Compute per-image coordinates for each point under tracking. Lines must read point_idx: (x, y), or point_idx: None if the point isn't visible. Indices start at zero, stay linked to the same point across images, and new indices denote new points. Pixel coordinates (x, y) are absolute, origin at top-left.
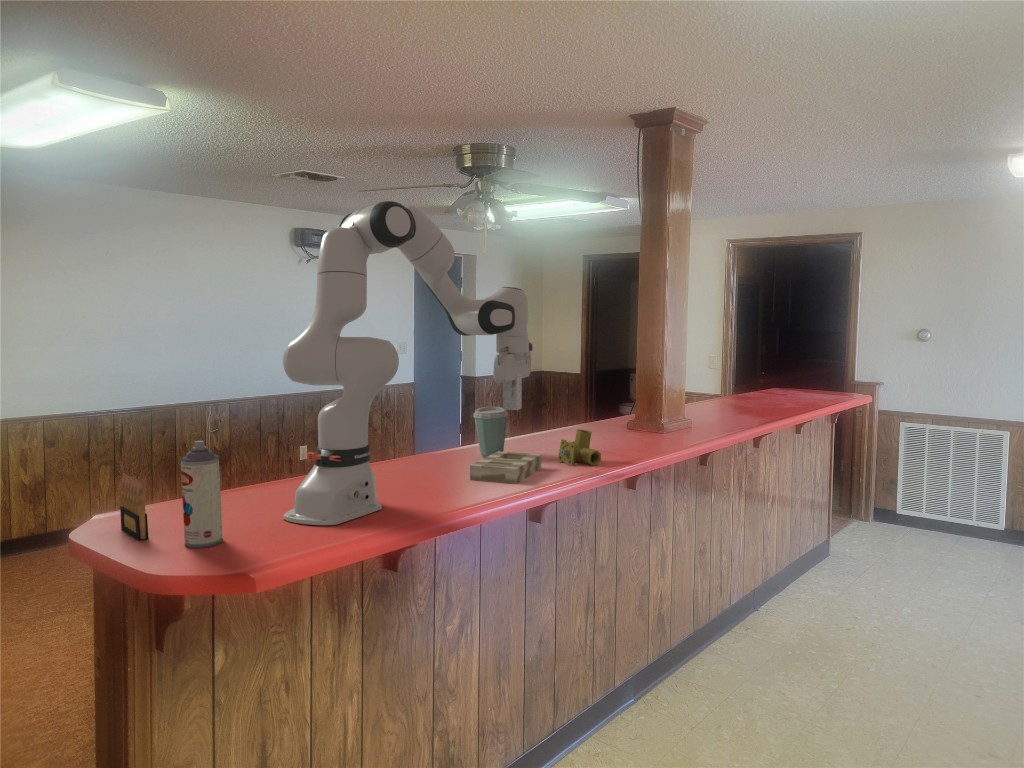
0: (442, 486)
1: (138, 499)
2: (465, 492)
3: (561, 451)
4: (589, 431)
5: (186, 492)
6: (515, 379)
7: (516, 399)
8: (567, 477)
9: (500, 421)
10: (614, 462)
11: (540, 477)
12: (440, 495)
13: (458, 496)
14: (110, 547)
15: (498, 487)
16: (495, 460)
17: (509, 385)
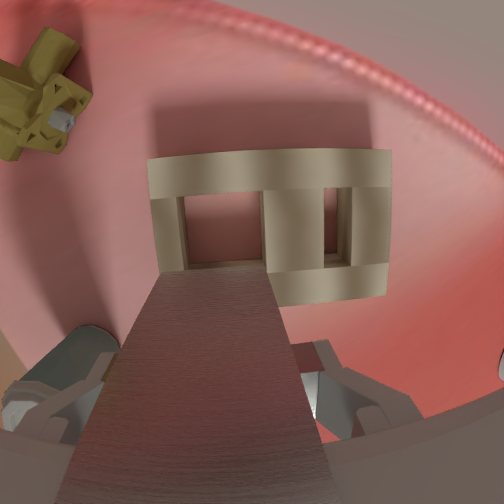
0: (432, 301)
1: None
2: (463, 233)
3: (65, 127)
4: None
5: None
6: (325, 445)
7: (274, 297)
8: (242, 45)
9: (66, 384)
10: (25, 28)
11: (274, 113)
12: (484, 266)
13: (485, 232)
14: None
15: (414, 182)
16: (305, 259)
17: (403, 401)
